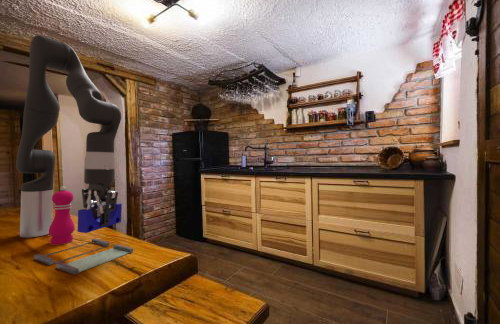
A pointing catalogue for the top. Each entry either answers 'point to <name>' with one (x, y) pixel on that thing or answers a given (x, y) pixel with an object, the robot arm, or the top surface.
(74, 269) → the panel
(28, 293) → the top surface
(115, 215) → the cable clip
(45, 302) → the top surface
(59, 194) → the pepper mill
